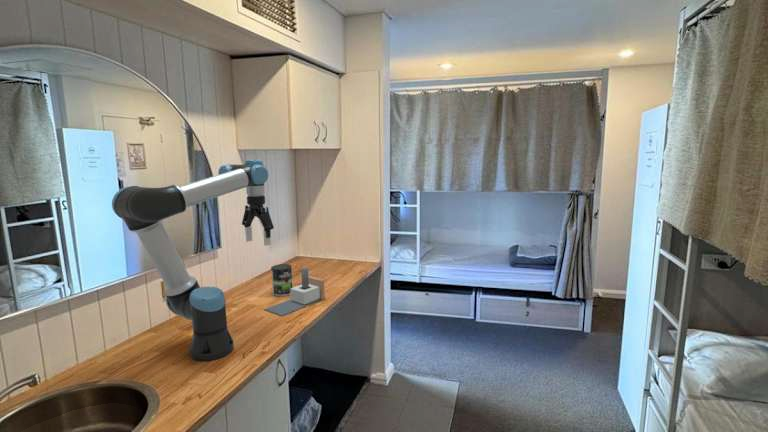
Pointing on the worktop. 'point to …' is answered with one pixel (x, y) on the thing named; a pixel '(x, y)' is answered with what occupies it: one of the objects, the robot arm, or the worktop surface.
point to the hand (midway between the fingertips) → (258, 243)
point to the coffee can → (281, 279)
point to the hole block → (305, 294)
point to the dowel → (305, 279)
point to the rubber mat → (288, 307)
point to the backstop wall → (318, 283)
